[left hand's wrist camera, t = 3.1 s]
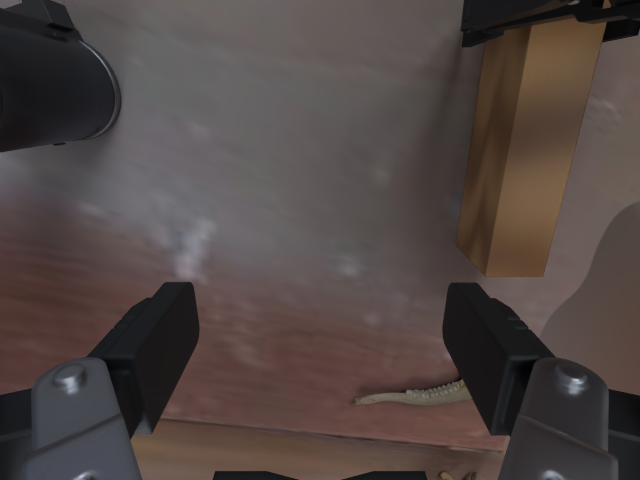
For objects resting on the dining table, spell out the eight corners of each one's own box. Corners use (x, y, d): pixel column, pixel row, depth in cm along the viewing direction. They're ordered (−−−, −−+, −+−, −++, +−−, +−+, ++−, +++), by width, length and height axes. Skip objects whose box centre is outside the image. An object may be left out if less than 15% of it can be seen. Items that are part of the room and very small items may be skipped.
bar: (503, 245, 42) (543, 276, 34) (455, 245, 42) (485, 277, 34) (555, -20, 32) (626, -56, 25) (494, -20, 32) (546, -55, 25)
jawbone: (514, 375, 49) (522, 388, 47) (380, 432, 53) (382, 445, 51) (491, 331, 45) (499, 343, 43) (350, 395, 49) (351, 408, 48)
